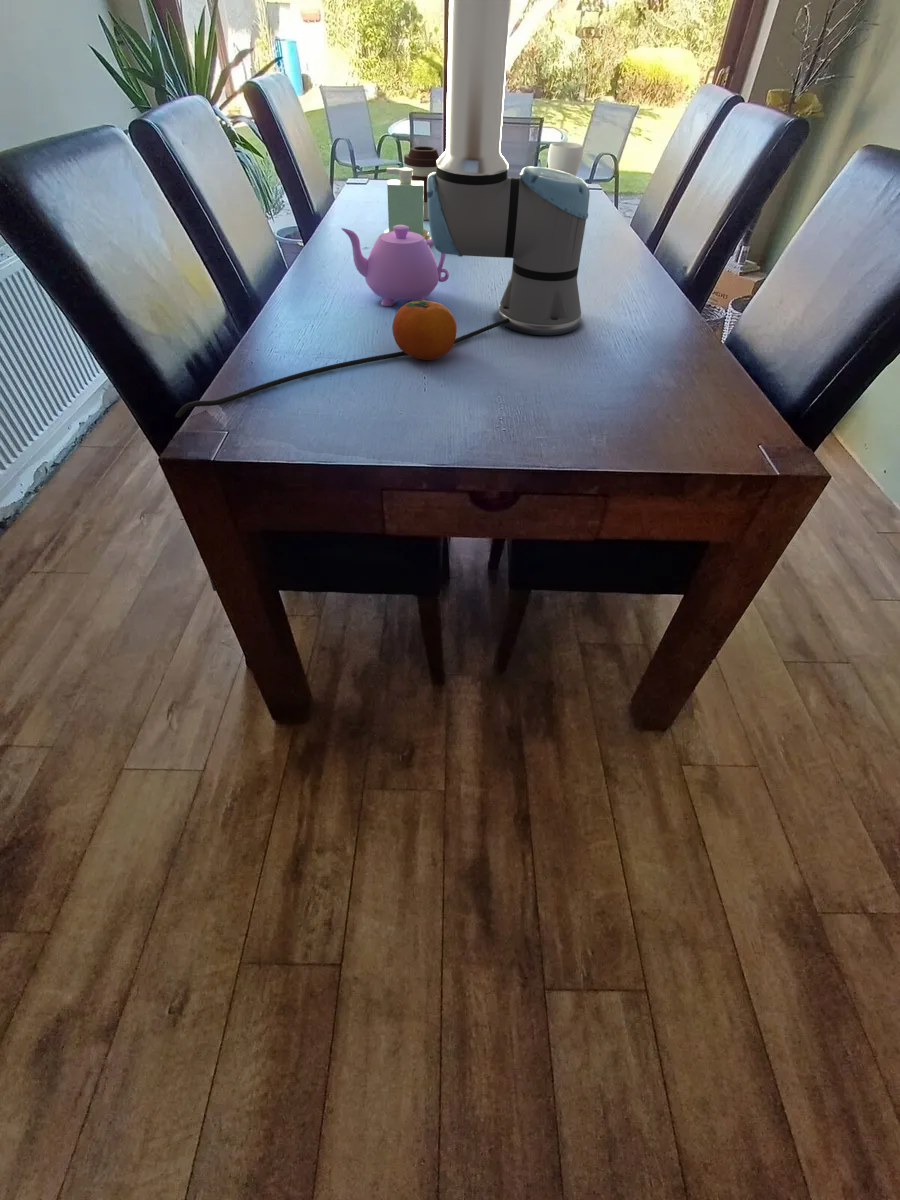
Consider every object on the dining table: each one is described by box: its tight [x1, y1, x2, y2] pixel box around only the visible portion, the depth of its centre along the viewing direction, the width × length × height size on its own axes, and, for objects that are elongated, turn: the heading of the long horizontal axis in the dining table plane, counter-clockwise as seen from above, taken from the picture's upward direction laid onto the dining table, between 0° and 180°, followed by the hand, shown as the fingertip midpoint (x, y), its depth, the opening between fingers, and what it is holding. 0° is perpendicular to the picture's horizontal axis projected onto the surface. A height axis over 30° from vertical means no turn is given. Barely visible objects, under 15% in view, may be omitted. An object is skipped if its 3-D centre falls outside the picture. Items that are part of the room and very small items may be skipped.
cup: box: [547, 141, 584, 177], centre depth 167 cm, size 9×9×16 cm
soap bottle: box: [383, 167, 429, 240], centre depth 144 cm, size 10×10×13 cm
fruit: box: [391, 299, 458, 361], centre depth 102 cm, size 11×10×8 cm
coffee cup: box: [403, 145, 442, 221], centre depth 162 cm, size 10×10×15 cm
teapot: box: [340, 225, 450, 307], centre depth 119 cm, size 20×14×12 cm
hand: (482, 121), depth 135 cm, fingers open, 13 cm apart
